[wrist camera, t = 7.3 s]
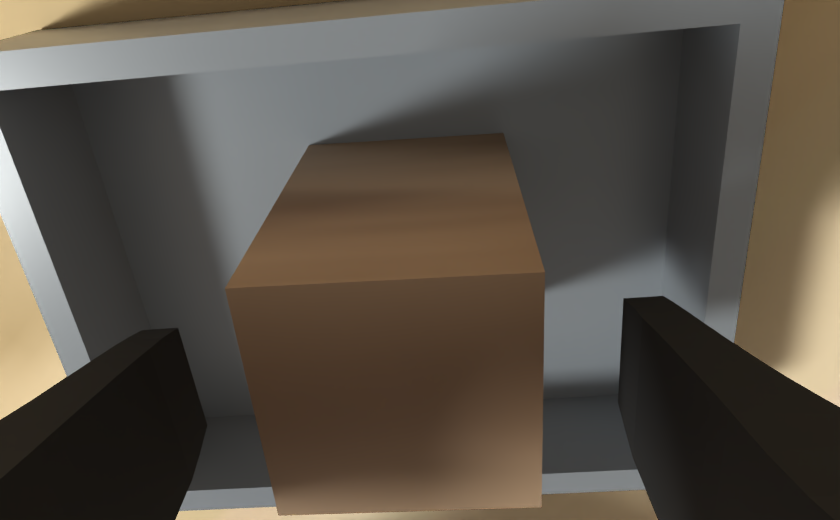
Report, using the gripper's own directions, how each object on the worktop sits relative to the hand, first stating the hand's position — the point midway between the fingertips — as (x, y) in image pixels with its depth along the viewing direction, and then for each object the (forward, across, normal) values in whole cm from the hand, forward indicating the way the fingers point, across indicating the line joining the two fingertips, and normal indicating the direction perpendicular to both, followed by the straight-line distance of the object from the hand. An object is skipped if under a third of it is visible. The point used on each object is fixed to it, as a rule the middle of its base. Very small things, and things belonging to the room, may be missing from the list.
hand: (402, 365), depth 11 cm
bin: (+5, 0, 0) cm, 5 cm away
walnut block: (+4, 0, 0) cm, 4 cm away
